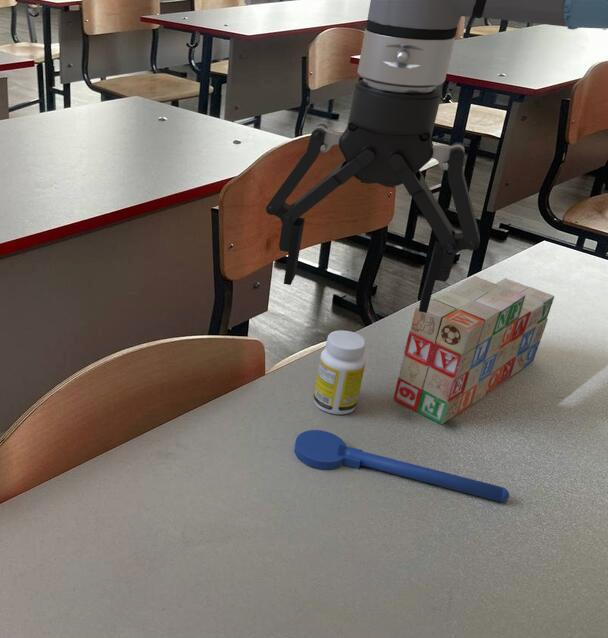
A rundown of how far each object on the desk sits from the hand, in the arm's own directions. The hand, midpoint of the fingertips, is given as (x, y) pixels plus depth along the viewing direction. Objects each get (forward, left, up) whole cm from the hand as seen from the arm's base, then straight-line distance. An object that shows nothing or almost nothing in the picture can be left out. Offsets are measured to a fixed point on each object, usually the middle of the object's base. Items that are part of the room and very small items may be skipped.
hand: (354, 292), depth 78 cm
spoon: (-8, +9, -14) cm, 19 cm away
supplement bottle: (0, 0, -14) cm, 14 cm away
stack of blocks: (-14, -11, -14) cm, 23 cm away
